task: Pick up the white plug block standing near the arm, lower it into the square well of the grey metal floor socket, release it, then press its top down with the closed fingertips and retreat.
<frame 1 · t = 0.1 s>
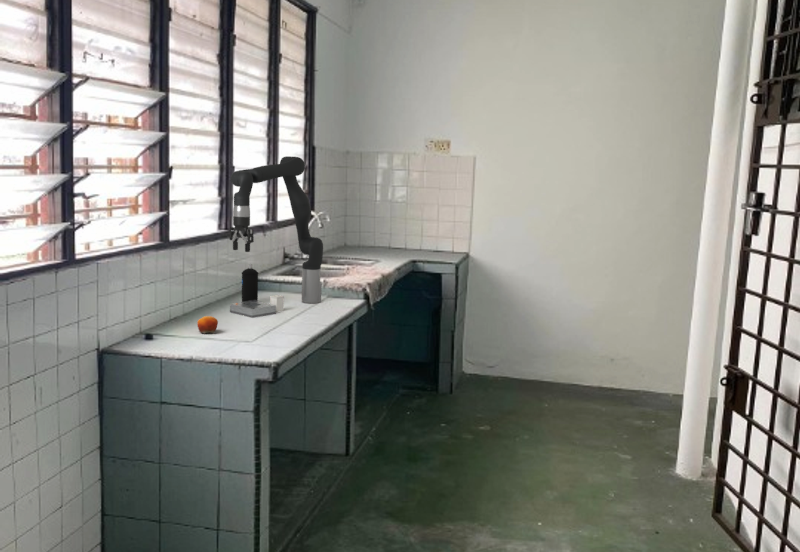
hand: (241, 250, 329), 29 cm above the counter, tool pointing down, fingers open, 8 cm apart
fruit: (207, 333, 294), on the counter
plug: (276, 310, 343), on the counter
aerosol can: (249, 304, 355), on the counter
socket: (252, 312, 336), on the counter
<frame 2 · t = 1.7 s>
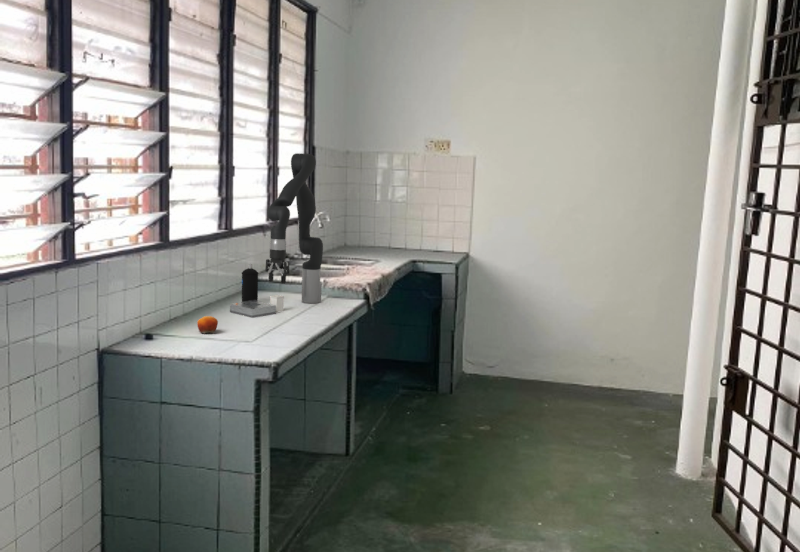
hand: (277, 282, 341), 14 cm above the counter, tool pointing down, fingers open, 8 cm apart
nothing on the counter moved.
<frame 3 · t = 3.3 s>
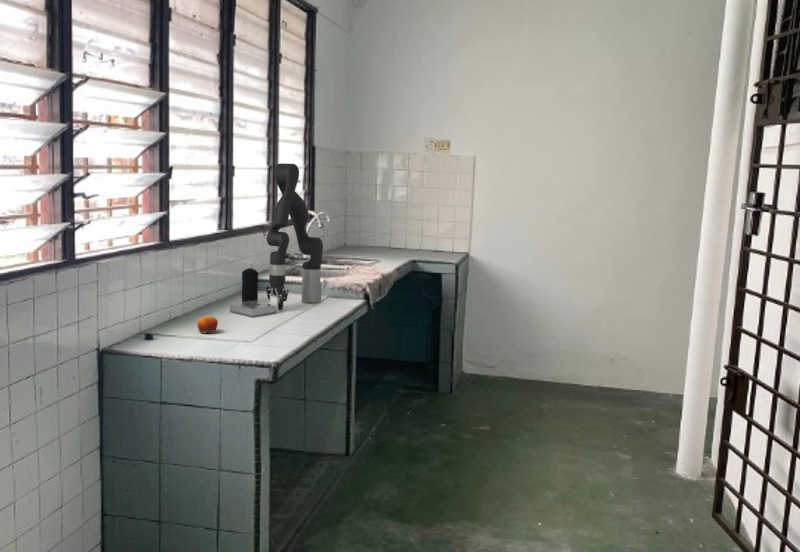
hand: (276, 308, 343), 1 cm above the counter, tool pointing down, fingers closed on plug, 4 cm apart
plug: (276, 310, 343), on the counter, touching gripper
everything else where it was.
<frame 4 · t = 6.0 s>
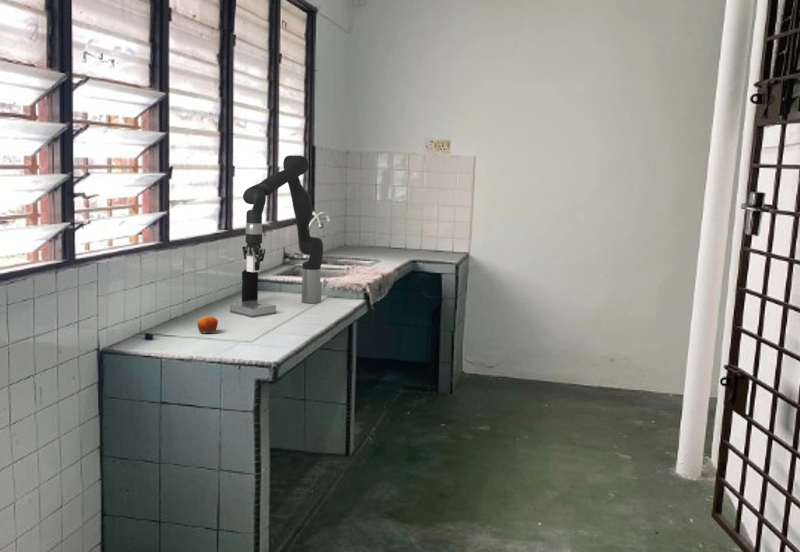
hand: (253, 269, 333), 20 cm above the counter, tool pointing down, fingers closed on plug, 4 cm apart
plug: (253, 271, 333), point 20 cm above the counter, touching gripper
everything else where it was.
when the fingers open (4 cm above the counter, at t = 8.6 s): plug drops 2 cm, resting on socket.
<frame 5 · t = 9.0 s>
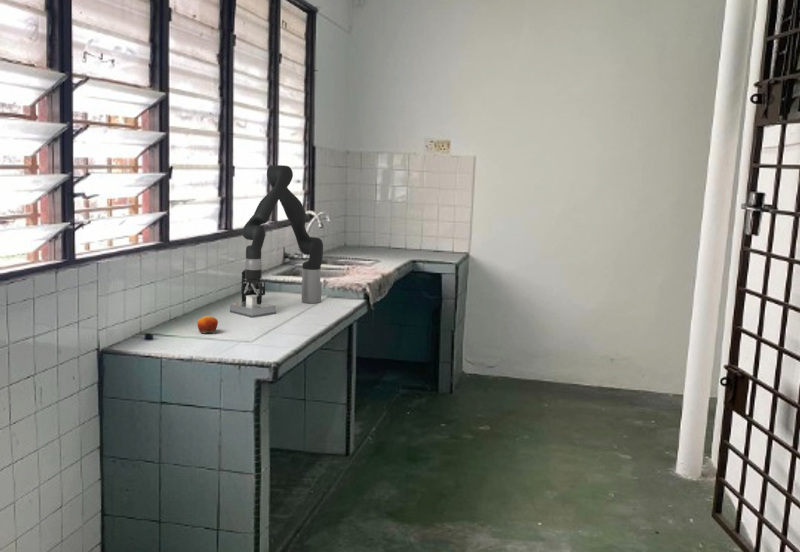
hand: (253, 302, 335), 5 cm above the counter, tool pointing down, fingers open, 8 cm apart
plug: (252, 310, 336), point 1 cm above the counter, touching socket
everything else where it was.
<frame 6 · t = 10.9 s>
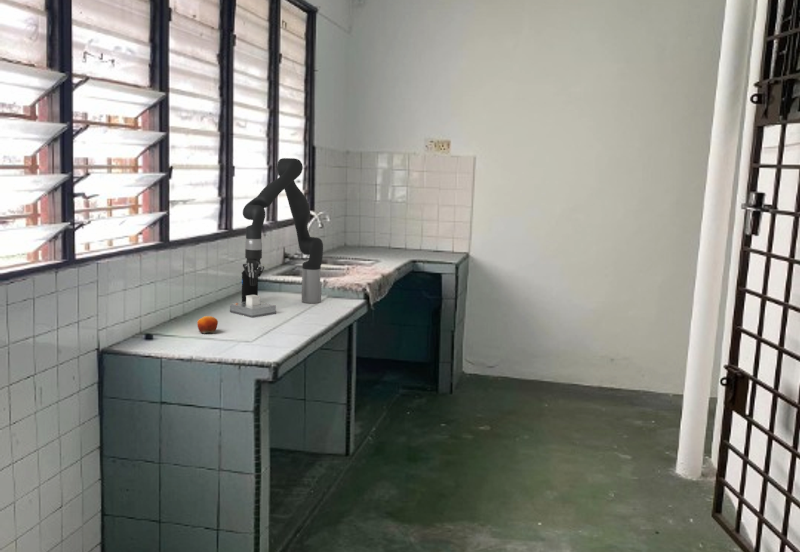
hand: (253, 285, 334), 13 cm above the counter, tool pointing down, fingers closed
nothing on the counter moved.
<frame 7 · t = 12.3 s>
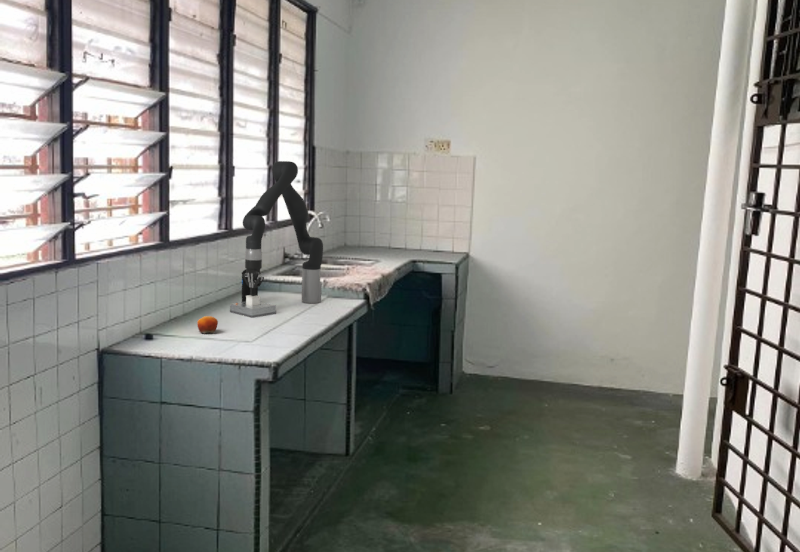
hand: (253, 295, 334), 8 cm above the counter, tool pointing down, fingers closed
nothing on the counter moved.
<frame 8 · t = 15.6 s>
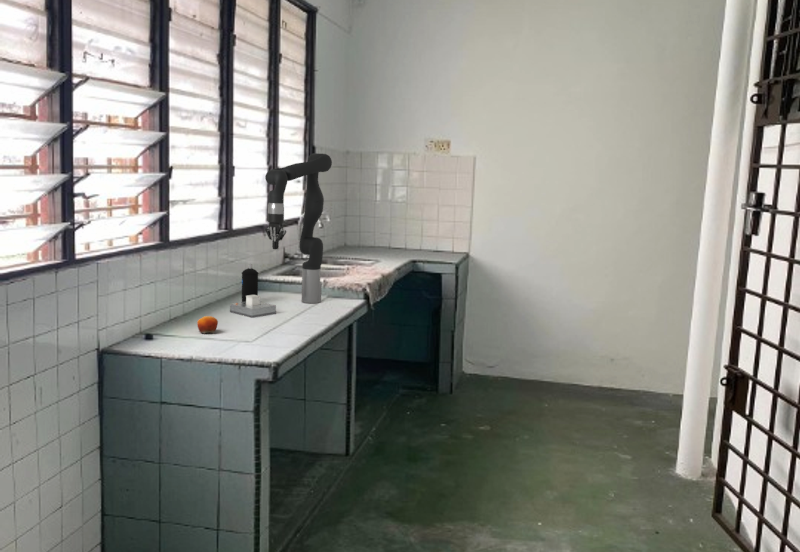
hand: (275, 249, 343), 29 cm above the counter, tool pointing down, fingers closed
nothing on the counter moved.
at the end: plug 0.1 cm off-centre on the socket, point 1.0 cm above the socket's base; plug tilted 0°; the gripper is holding nothing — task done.
